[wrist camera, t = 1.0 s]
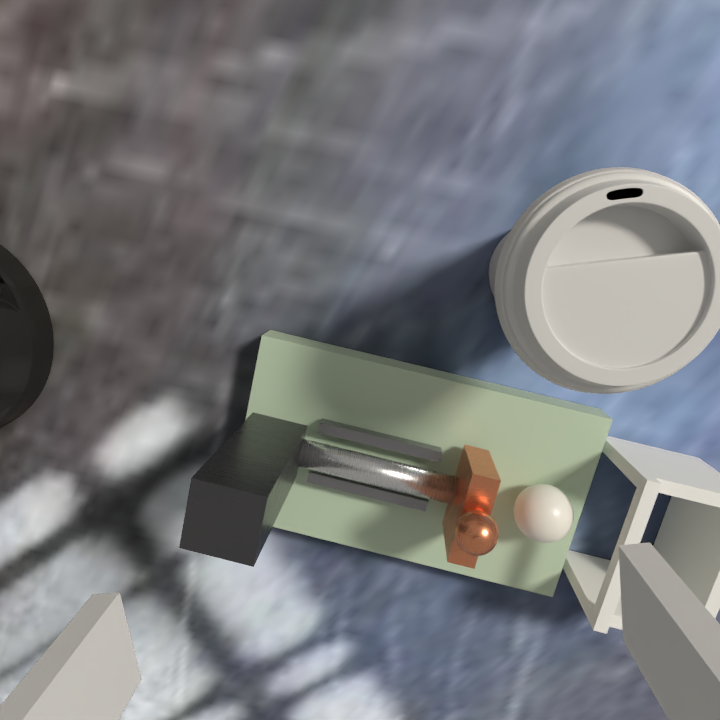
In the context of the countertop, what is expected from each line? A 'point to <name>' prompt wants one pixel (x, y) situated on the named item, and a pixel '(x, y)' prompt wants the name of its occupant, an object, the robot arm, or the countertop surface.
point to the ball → (543, 513)
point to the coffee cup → (609, 280)
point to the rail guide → (380, 442)
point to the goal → (674, 539)
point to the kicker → (291, 450)
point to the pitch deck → (434, 427)
